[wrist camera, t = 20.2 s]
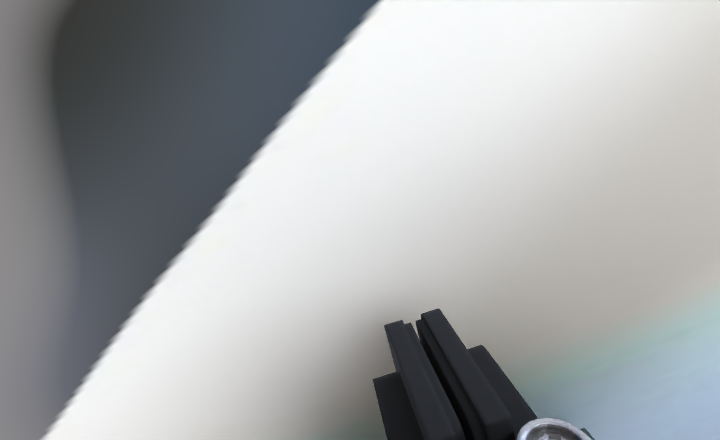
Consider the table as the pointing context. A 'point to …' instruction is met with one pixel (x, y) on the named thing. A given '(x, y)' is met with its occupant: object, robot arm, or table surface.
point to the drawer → (587, 433)
